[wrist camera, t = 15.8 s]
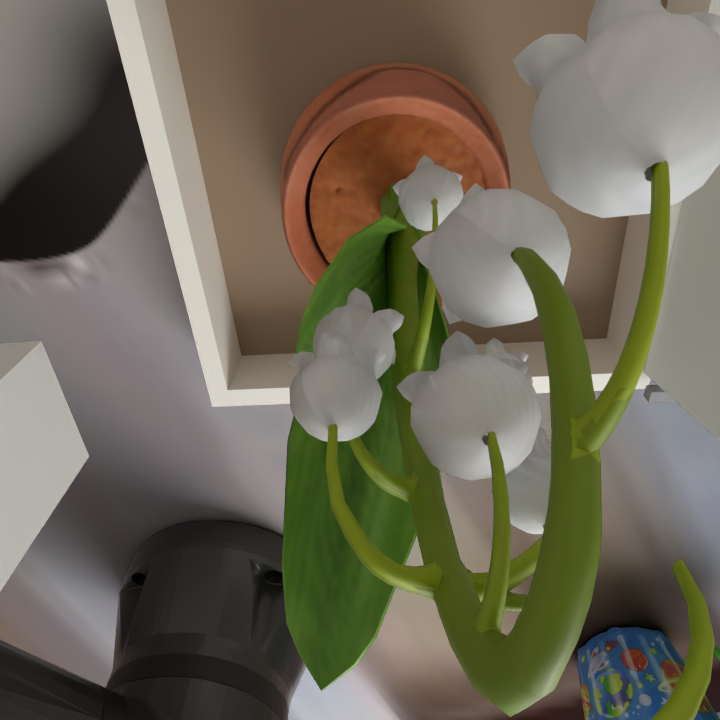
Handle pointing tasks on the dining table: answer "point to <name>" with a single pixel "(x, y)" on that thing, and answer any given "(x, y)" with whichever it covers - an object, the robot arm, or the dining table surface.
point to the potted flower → (459, 353)
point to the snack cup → (631, 675)
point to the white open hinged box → (264, 161)
